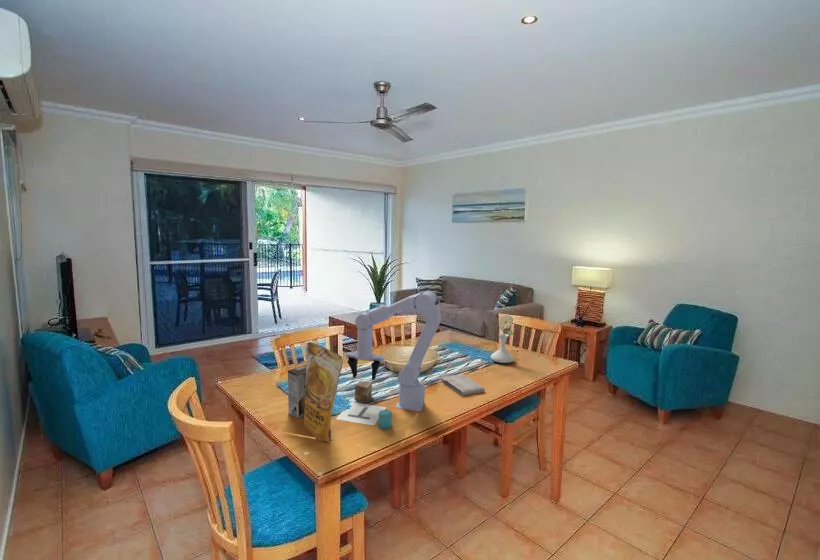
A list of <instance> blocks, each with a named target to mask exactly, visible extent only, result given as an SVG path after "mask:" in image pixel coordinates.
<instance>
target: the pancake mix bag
mask: <svg viewBox="0 0 820 560" xmlns="http://www.w3.org/2000/svg"><path fill="white" fill-rule="evenodd" d="M343 359H344V358H343V357H342V356H341V355H340V354H339V353H338V352H336V351H334V350H330V349H328V348H326V347H324V346H322V345H320V344H317V343H314V342H312V341H308V342H306V364H305V365H306V382H305V384H306V399H305V411H304V416H303V418H304V419H303V427H304V428H305V429H306V430H307V431H308V432H309V433H311V434H312V435H313V436H314V438H315V439H316V441H319V442H320V443H323V442H326V443H330V442H331V438H332V430H331V422H332V416H333V410H334V405H335V399H336V394H337V391H338V385H339V381H340V380H339V379H340V375H341V372H342V369H343Z"/></svg>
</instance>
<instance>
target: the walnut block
mask: <svg viewBox="0 0 820 560" xmlns="http://www.w3.org/2000/svg"><path fill="white" fill-rule="evenodd" d="M372 391H373V382H371V381H362V380H360V381H358V382H357V383H356V384H355V386H354V400H357V401H362V402H368V401H369V400H370V399H371V398H372V396H373V395H372V393H373V392H372Z"/></svg>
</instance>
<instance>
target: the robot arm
mask: <svg viewBox="0 0 820 560" xmlns="http://www.w3.org/2000/svg"><path fill="white" fill-rule="evenodd" d="M440 302H441V301H440V299H439V297H438V295H437V293H435V292H434V291H432V290H424V291H423V292H419V293H415V294H412V295H409V296H407V297H404V298H402V299H401V300H399V301H396V302H395V303H392V304H390V305H387V304H385V303H383V304H382V303H379V304H377V305H376V307H374V308H372V309H367V310H366V311H365V312H362V313H360V314H359V315H357V316H356V318H355V321H354V322H355V326H356V327H357V332H356V333H357V339H356V342H357V347H356V352H349V351H348V352H347V353H345V359H346V360H347V359H348V360H347V364H348V366H349V368H350V370H351V374H352V378H354V379H355V378H357V376H358V360H359V361H369V362H370V361H371V362H372V363H371V380H372V381H375V380H376V378H377V377H376V376H377V373H378V371H379V368H380V365H381V364H382V363H383V362H384V359H385V358H384V355H379V354H374V353H373V337H374V335H373V327H374V326H375V325H377V324H380V323H382V322H385V321H387V320H389V319H390V318H391V316H392V315H393V314H395V313H397V312H400V311H402V310H405V309H409V308H411V309H412V310H417V311H419V313H421V315H422V316H423V318H424V319H425V322H424V326H423V328H422V330H421V332H420V335H419V337H418V339H417V341H416V343H415V345H414V348H413V349H412V352H411V354H410V357H409V359H408V360H407V362H406V363H405V365H404V367H403V368H402V370H400V371H399V373H398V376H397V379H398V382H399V388H398V389H399V390H398V395H399V396H398V402H397V403H396V406H395V408H396V409H403V410H409V411H414V412H415V411H416V412H419V413H420V412H422V409H423V408H424V405H425V403H426V402H425V398H426V397H425V395H426V385H425V384H423V383H420V382H419V381H420V380H419V378H418V377H419V376H420V374H421V366H422V365H423V360H424V358H425V356H426V353H427V352H428V349H429V347H430V346H431V343H432V340H433V338H434V336H435V334H436V332H437V331H438V328H439V327H440V326H439V325H440V324H441V321H442V314H441V308H440V304H441V303H440Z"/></svg>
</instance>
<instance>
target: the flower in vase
mask: <svg viewBox="0 0 820 560" xmlns="http://www.w3.org/2000/svg"><path fill="white" fill-rule="evenodd" d="M513 324H514V318H513V316H512V315H510V314H505V315H504V314H503V315H502V316H500V318H499V320H498V327H499V329H500V330H501V331H502V332H504V333H501V332H500V333H498V336H499V338H500V347H499V348H498V349H497V350H496V351H494V352H493V353H492V354H491V355H490V358H491V360H492V361H493V362H496V363H501V364H510V363H512V362H514V357H513V355H512V354H511V353H509V351H507V349H506V342H507V339H508V337H509V336H514V334H513V330H512V329H510V328H511V327H512V325H513ZM505 330H507V331H505Z"/></svg>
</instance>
